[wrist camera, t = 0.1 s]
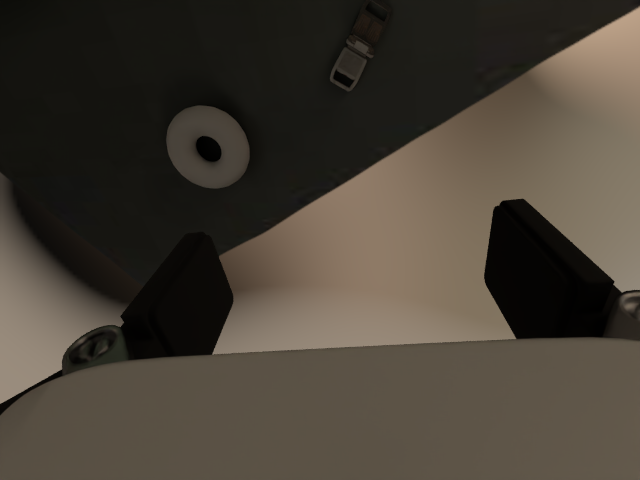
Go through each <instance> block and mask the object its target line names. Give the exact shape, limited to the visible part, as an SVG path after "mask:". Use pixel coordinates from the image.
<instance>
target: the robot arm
mask: <svg viewBox="0 0 640 480" xmlns="http://www.w3.org/2000/svg"><path fill="white" fill-rule="evenodd" d="M484 279H485V283H486V286H487V288H488V289H489V291H490V293H491V295H492V296H493V298H494V300H495V302H496V304H497V305H498V307H499V309H500V310H501V312H502V314H503V316H504V318H505V319H506V321H507V323H508V325H509V326H510V328H511V330H512V332H513V333H514V335H515V337H516V339H511V340H510V339H509V340H490V341H489V340H488V341H469V342H468V341H466V342H445V343H424V344H404V345H383V346H365V347H345V348H325V349H306V350H287V351H269V352H250V353H232V354H214V355H212V353H213V351H214V348H215V345H216V343H217V341H218V338H219V336H220V333H221V331H222V329H223V326H224V324H225V321H226V319H227V317H228V314H229V312H230V309H231V307H232V304H233V293H232V291H231V288H230V286H229V283H228V280H227V277H226V275H225V272H224V270H223V267H222V264H221V262H220V260H219V256H218V254H217V251H216V248H215V246H214V243H213V241H212V238H211V237H210V236H209V235H208V236H207V235H206V234H205V233H204V232H197V233H188V234H185V235H184V237H183V238H182V239H181V240H180V242H179V243H178V244H177V245H176V247H175V248H174V249H173V250H172V252H171V253H170V254H169V256H168V257H167V258H166V259H165V261H164V262H163V263H162V264H161V266H160V267H159V268H158V269H157V271H156V272H155V273H154V274H153V276H152V277H151V278H150V279H149V281H148V282H147V283H146V285H145V286H144V287H143V288H142V290H141V291H140V292H139V293H138V295H137V296H136V297H135V298H134V300H133V301H132V302H131V303H130V305H129V306H128V307H127V309H126V310H125V311H124V312H123V314H122V315H121V318H122V320H123V321H124V323H123V325H122V326H121V327H118V326H115V325H107V326H103V327H99V328H96V329H94V330H91V331H90V332H88V333H86V334H85V335H83V336H81V337H80V338H79V339H77V340H76V341H75V342H74V343H73V344H72V345H71V346H70V347H69V348H68V349H67V351H66V352H65V354H64V356H63V360H62V370H60V371H58V372H57V373H55V374H53V375H51V376H49V377H48V378H46V379H45V380H42V381H41V382H39V383H37V384H35V385H34V386H32V387H30V388H28V389H26V390H25V391H23V392H21V393H19V394H17V395H16V396H14V397H12V398H10V399H9V400H7V401H5V402H3V403H1V404H0V480H640V290H632V291H625V292H623V293H622V292H621V291H620V290H618V289H617V288H616V287H615V286H614V285H613V284H614V281H613V280H612V279H611V278H610V277H609V276H608V275H607V274H606V273H605V272H604V271H602V270H601V269H600V268H599V267H598V266H597V265H596V264H595V263H593V261H592V260H590V259H589V258H588V257H587V256H586V255H585V254H584V253H583V252H582V251H581V250H579V249H578V248H577V247H576V246H575V245H574V244H573V243H572V242H570V240H568V239H567V238H566V237H565V236H564V235H563V234H562V233H561V232H560V231H559V230H557V229H556V228H555V227H554V226H553V225H552V224H551V223H550V222H549V221H548V220H546V219H545V218H544V217H543V216H542V215H541V214H540V213H539V212H538V211H537V210H535V209H534V208H533V207H532V206H531V205H530V204H529V203H528V202H527V201H525V200H524V199H516V200H506V201H502V202H501V203H500V205H499V206H496V207H495V208H494V210H493V217H492V224H491V231H490V238H489V245H488V252H487V260H486V266H485V273H484Z"/></svg>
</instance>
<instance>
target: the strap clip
mask: <svg viewBox="0 0 640 480" xmlns="http://www.w3.org/2000/svg"><path fill="white" fill-rule="evenodd" d="M370 1H372V2H374V3H376V4H377V5H379V6H380V7H382V8H383V9H385V10H386V11H387V12H388V14H387V17H386V19H385V22H384V21H382V20H381V19H379V18H377V17H376V16H374V15H373V14H371V13H370V12H368V11H367V10H365V8H366V6H367V5H368V3H369V2H370ZM391 13H392V10H391V8H390V7H388V6H387V5H385V4H383V3H382V2H380V1H379V0H366V2H365V3H364V5H363V6H362V8H361V10H360V13H359V15H358V18H357V20H356V23H355V25H354V27H353V30H352V34H353V35H350V36H349V37H348V38H347V40H346V43H347V44H348V46H347V47H344V48H343V50H342V52H341V54H340V56H339V58H338V59H337V61H336V63H335V65H334V67H333V69H332V72H331V75H330V81H331V82H333V83H334V84H336V85H338V86H339V87H341V88H343V89H345V90H347V91H351V90H352V89H353V88H354V86H355V85H356V83H357V82H358V80H359V77H360V75H361V73H362V71H363V69H364V66H365V64H366V62H367V61H366V59H365V58H366V56H368V57H370V58H372V57H373V56H374V49H373V48H372V46H375V45H376V43H377V41H378V39H379V38H380V36H381V34H382V33H383V31H384V29H385V28H386V26H387V24H388V22H389V19H390V16H391ZM349 45H350V46H352V47H353V48H352V47H350V46H349ZM354 48H355V49H357V50H358V51H357V50H355V49H354ZM359 51H360V52H362V53H363V54H365V55H366V56H365V55H363V54H362V53H360V52H359ZM335 70H337V71H339V72H340V73H342V74H344V75H345V76H347V77H349V78H350V79H352V80H354V81H353V83H352V84H351V86H350V87H347V86H345V85H344V84H342V83H340V82H338V81H337V80H335V79H334V78H333V76H334V73H335Z"/></svg>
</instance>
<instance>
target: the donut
mask: <svg viewBox="0 0 640 480" xmlns="http://www.w3.org/2000/svg"><path fill="white" fill-rule="evenodd" d="M201 136H209V137H211V138H213V139H214V140H216V141H217V142H218V144H219V145H220V148H221V152H222V155H221V158H220V159H219V160H218V161H215V162H211V161H207V160H205V159H204V158H202V157H201V156H200V154H199V153H198V151H197V149H196V142H197V139H198V138H199V137H201ZM166 143H167V149H168V154H169V156H170V158H171V160H172V163H173V165H174V166H175V167H176V168H177V170H178V171H179V172H180V173H181V174H182V175H183V176H184V177H185V178H187V179H188V180H190V181H191V182H192V183H195V184H197V185H200V186H202V187H207V188H216V189H217V188H222V187H227V186H229V185H231V184H233V183H234V182H236V181H238V180H239V179H240V178H241V176H242V175H243V174H244V172H245V171H246V168H247V165H248V162H249V159H250V155H249V144H248V141H247V138H246V135H245V133H244V131H243V130H242V128H241V127H240V125H239V124H238V122H237V121H235V120H234V119H233V118H232V117H231V116H230V115H228V114H227V113H226V112H224V111H221V110H219V109H217V108H215V107H210V106H201V105H198V106H194V107H190V108H186V109H184V110H183V111H181V112H180V113H179V114H177V115H176V116H175V117H174V119H173V120H172V122H171V124H170V125H169V127H168V131H167V137H166Z"/></svg>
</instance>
